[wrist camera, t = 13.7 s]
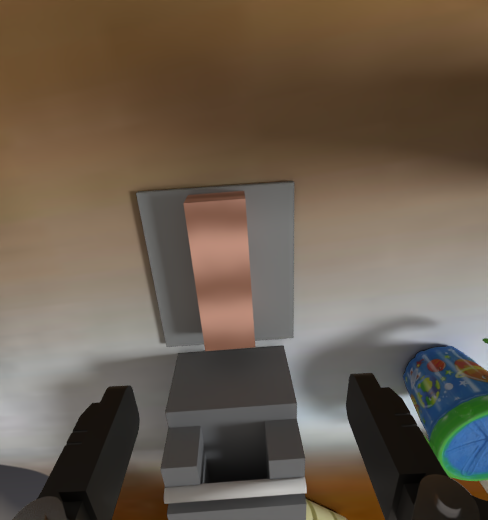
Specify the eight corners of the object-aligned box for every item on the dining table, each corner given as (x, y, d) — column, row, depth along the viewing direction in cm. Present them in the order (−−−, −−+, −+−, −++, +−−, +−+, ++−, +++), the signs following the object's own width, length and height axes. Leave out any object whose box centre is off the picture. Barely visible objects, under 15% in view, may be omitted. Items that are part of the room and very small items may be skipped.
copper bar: (188, 195, 28) (183, 203, 26) (244, 190, 28) (245, 198, 26) (207, 332, 35) (205, 351, 32) (253, 329, 35) (255, 347, 32)
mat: (138, 191, 29) (136, 193, 28) (293, 181, 29) (294, 182, 28) (167, 343, 36) (166, 346, 35) (292, 334, 36) (293, 337, 35)
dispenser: (178, 353, 36) (153, 465, 25) (283, 345, 36) (308, 453, 25) (195, 447, 43) (182, 571, 31) (284, 441, 43) (304, 561, 31)
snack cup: (426, 422, 43) (481, 507, 33) (360, 399, 40) (399, 484, 31) (510, 333, 37) (604, 406, 28) (439, 302, 35) (514, 370, 26)
